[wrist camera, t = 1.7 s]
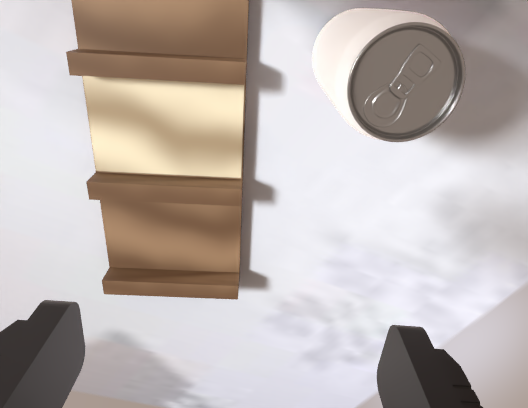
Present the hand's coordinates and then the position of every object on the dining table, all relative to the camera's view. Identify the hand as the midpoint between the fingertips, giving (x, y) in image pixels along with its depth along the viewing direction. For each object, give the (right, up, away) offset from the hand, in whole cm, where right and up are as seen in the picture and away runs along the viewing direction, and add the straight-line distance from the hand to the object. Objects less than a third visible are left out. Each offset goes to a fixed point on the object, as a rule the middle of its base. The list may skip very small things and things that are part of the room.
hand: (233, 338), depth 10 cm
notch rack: (-7, +10, +22) cm, 25 cm away
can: (+7, +15, +20) cm, 26 cm away
